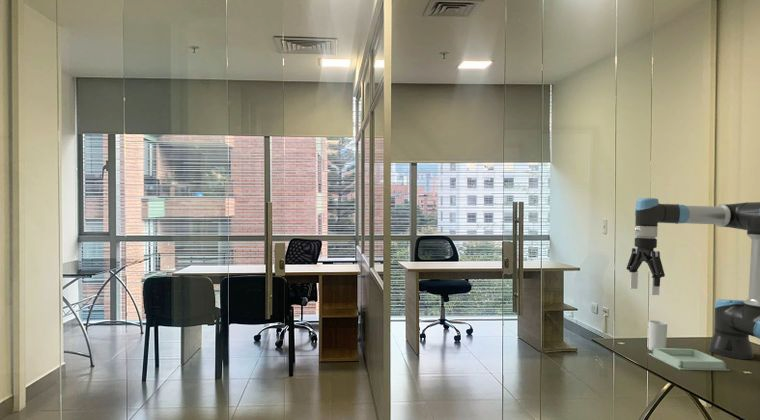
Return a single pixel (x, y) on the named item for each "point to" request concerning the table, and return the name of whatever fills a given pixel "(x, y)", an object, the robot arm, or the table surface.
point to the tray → (688, 359)
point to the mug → (657, 334)
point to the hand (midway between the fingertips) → (643, 291)
